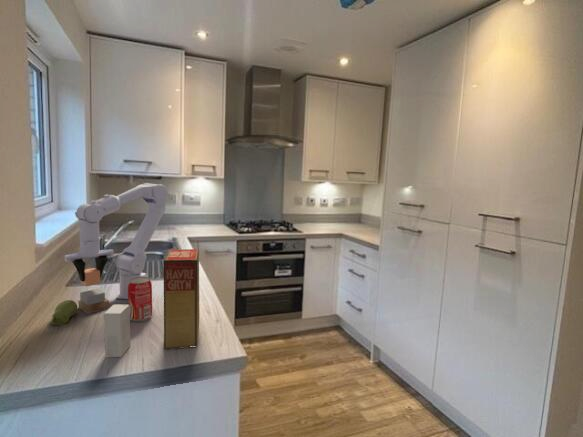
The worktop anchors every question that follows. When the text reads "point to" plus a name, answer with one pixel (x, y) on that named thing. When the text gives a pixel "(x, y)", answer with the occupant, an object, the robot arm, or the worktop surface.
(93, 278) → the terracotta cube
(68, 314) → the pear
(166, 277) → the food packaging
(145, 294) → the soda can
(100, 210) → the robot arm
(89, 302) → the slate block
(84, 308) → the walnut base
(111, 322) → the skincare box
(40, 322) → the worktop surface
